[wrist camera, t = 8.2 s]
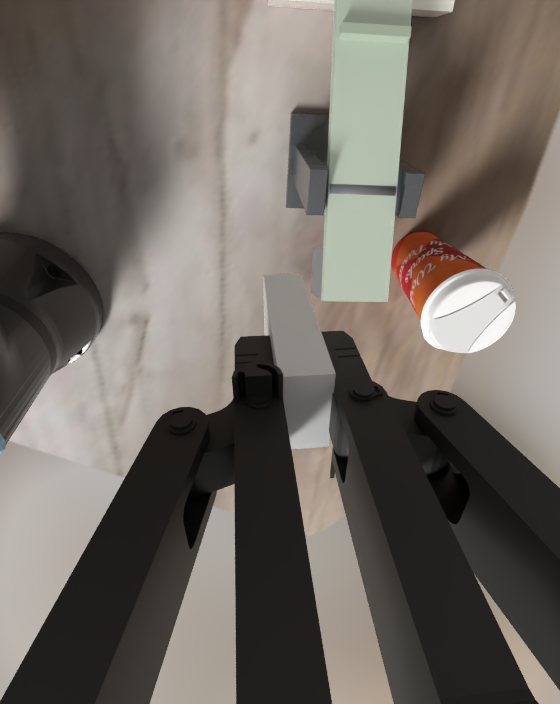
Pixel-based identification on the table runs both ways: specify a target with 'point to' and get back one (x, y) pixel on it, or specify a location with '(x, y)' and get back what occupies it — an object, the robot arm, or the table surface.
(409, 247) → the paper cup
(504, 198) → the table surface
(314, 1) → the white square tray
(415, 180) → the stand
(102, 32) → the table surface
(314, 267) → the lever
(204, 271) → the table surface
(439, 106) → the table surface
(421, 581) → the robot arm
